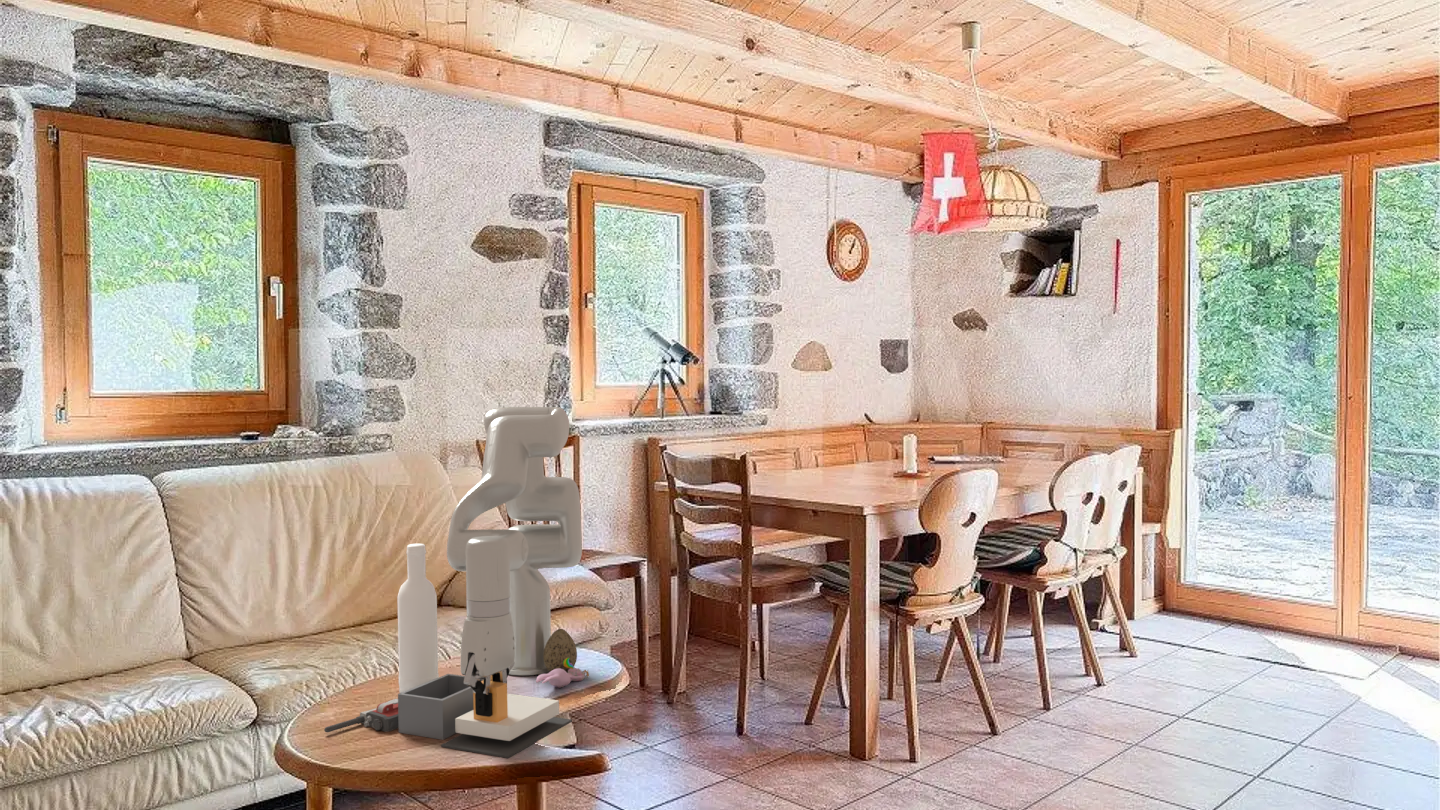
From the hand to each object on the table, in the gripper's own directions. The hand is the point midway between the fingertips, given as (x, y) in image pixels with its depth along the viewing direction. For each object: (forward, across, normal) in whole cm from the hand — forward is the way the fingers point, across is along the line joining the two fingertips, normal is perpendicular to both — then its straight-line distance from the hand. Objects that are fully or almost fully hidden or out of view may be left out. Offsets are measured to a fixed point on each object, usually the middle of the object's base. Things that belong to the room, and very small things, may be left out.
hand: (490, 711), depth 183 cm
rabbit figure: (+6, -34, -7) cm, 35 cm away
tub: (+6, -5, -14) cm, 16 cm away
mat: (+6, -5, 0) cm, 8 cm away
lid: (+4, -5, 0) cm, 6 cm away
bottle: (+6, -20, -33) cm, 39 cm away
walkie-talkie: (+6, -1, -25) cm, 26 cm away
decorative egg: (+6, -40, -12) cm, 42 cm away
